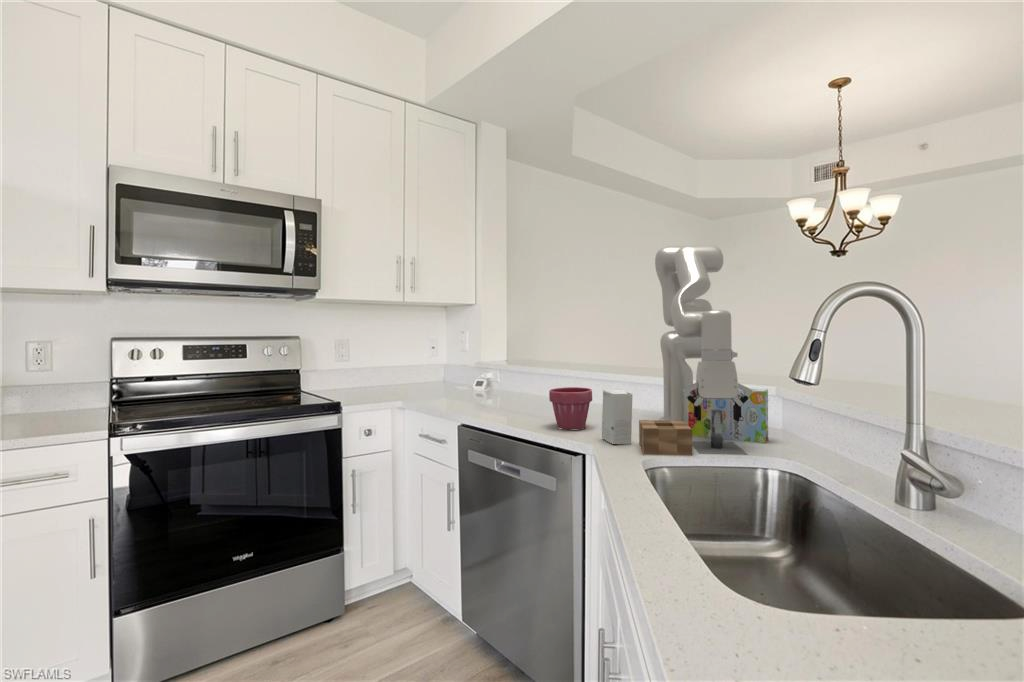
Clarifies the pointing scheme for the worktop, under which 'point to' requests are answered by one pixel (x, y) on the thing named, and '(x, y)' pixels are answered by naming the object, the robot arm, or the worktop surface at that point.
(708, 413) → the snack box
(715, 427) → the pin
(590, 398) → the plant pot
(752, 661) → the worktop surface
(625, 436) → the skincare box
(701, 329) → the robot arm
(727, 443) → the mat
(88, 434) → the worktop surface
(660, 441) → the hole block
